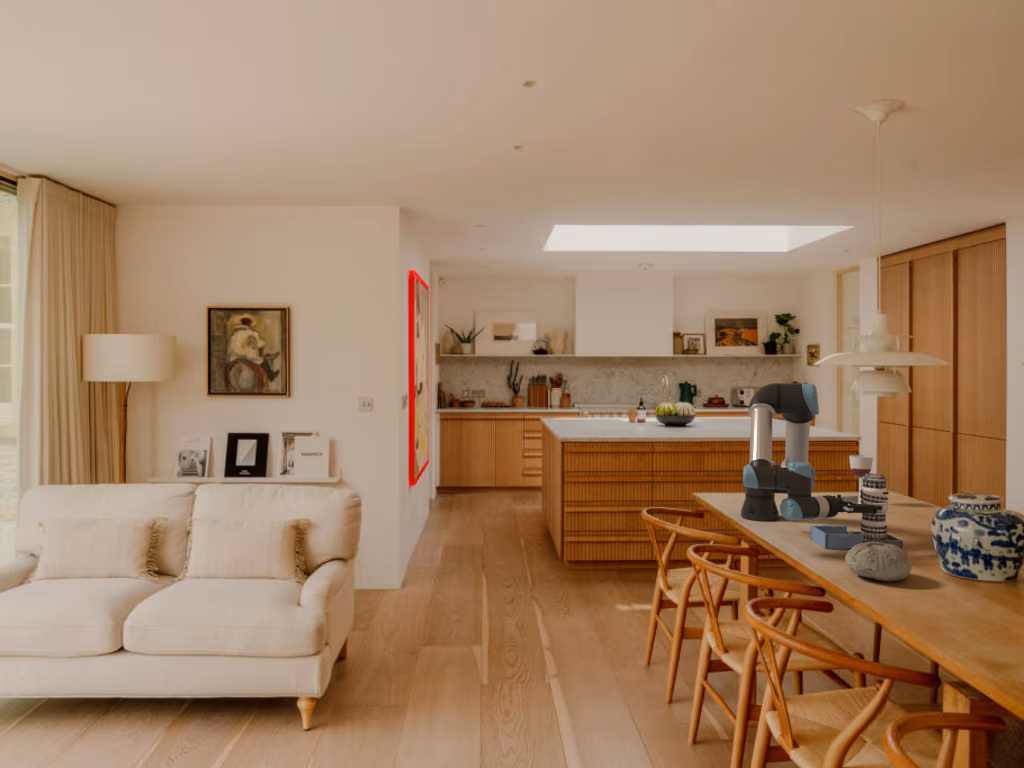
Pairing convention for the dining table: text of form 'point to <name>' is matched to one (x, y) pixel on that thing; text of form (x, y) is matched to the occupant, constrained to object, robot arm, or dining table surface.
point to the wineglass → (860, 467)
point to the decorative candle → (872, 494)
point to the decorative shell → (879, 561)
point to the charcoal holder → (889, 540)
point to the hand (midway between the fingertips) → (871, 503)
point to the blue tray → (834, 537)
